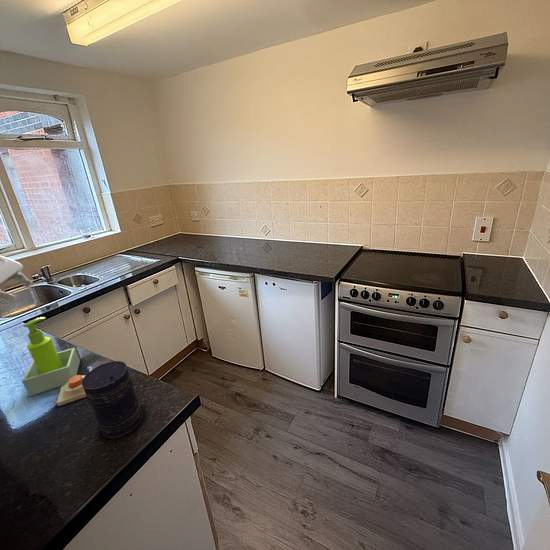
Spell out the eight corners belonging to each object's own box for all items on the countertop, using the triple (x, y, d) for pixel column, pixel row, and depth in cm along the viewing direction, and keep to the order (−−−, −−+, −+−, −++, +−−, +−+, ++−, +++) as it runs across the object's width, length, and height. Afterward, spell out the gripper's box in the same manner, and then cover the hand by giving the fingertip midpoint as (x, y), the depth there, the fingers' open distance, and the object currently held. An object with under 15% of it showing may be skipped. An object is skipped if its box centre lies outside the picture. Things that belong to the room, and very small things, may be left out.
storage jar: (93, 428, 75) (72, 381, 69) (128, 401, 82) (112, 356, 77) (116, 444, 70) (95, 394, 64) (151, 414, 77) (135, 367, 72)
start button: (68, 389, 86) (66, 385, 85) (70, 382, 89) (68, 377, 88) (83, 385, 87) (81, 380, 86) (84, 377, 90) (82, 373, 89)
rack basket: (29, 396, 89) (21, 381, 87) (39, 373, 99) (32, 359, 97) (75, 381, 93) (68, 366, 91) (80, 361, 103) (74, 347, 101)
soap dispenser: (72, 370, 98) (49, 316, 91) (51, 384, 92) (24, 328, 85) (61, 367, 100) (37, 314, 93) (39, 380, 94) (12, 326, 87)
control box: (57, 406, 83) (53, 398, 82) (63, 389, 90) (59, 381, 89) (97, 392, 87) (94, 384, 86) (99, 376, 94) (96, 369, 93)
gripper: (-17, 261, 89) (33, 284, 95) (-68, 289, 71) (-2, 316, 77) (-6, 244, 88) (44, 269, 94) (-55, 269, 70) (10, 298, 76)
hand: (23, 291), depth 86 cm, fingers open, 8 cm apart
